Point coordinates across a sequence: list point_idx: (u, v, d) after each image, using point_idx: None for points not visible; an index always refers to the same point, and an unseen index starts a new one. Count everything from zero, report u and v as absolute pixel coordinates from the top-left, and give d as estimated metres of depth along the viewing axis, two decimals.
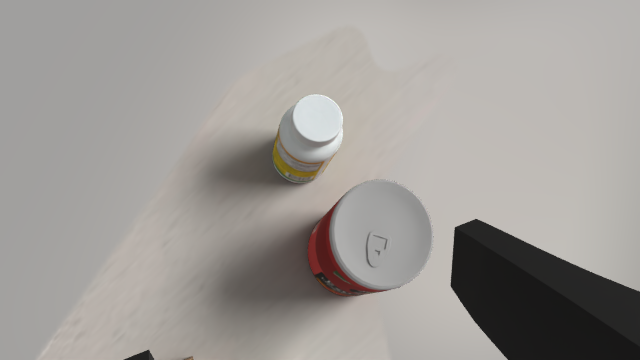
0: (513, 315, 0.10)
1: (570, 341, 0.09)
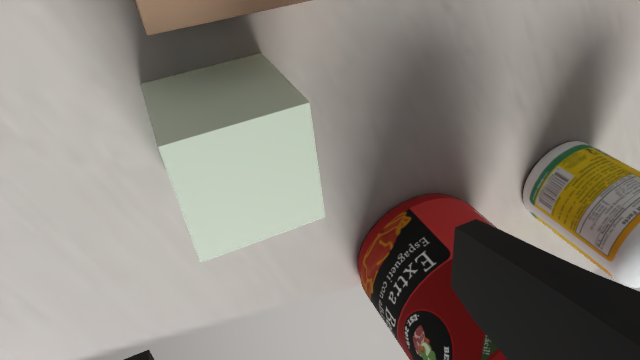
0: (513, 315, 0.10)
1: (570, 341, 0.09)
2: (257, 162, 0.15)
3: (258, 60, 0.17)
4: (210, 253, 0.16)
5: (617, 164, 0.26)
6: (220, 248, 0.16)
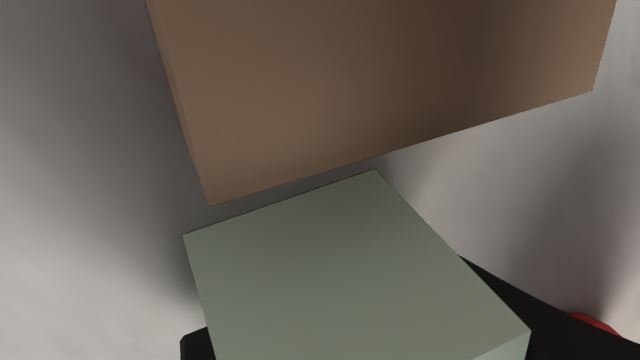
0: None
1: None
2: None
3: (377, 190, 0.10)
4: None
5: None
6: None
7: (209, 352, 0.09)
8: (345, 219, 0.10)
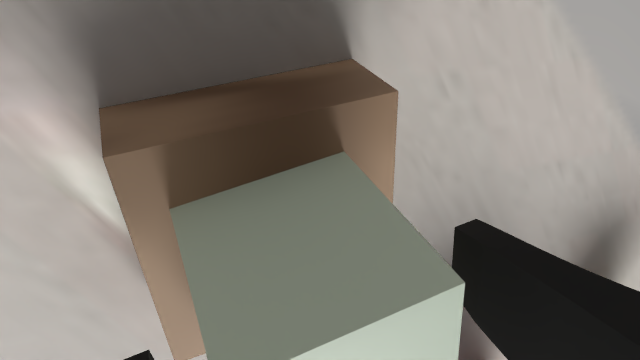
0: (512, 315, 0.10)
1: (570, 341, 0.09)
2: None
3: (345, 169, 0.12)
4: None
5: None
6: None
7: None
8: (314, 194, 0.11)
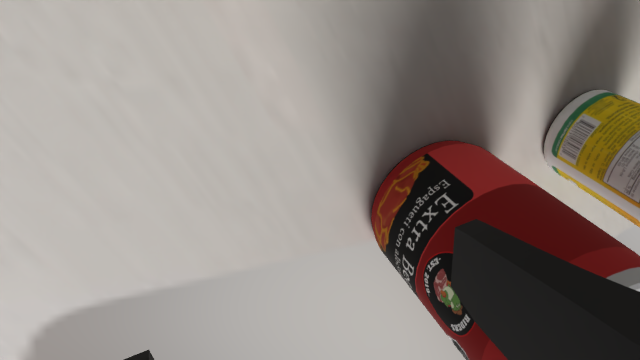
0: (512, 315, 0.10)
1: (570, 341, 0.09)
2: None
3: None
4: None
5: None
6: None
7: None
8: None
